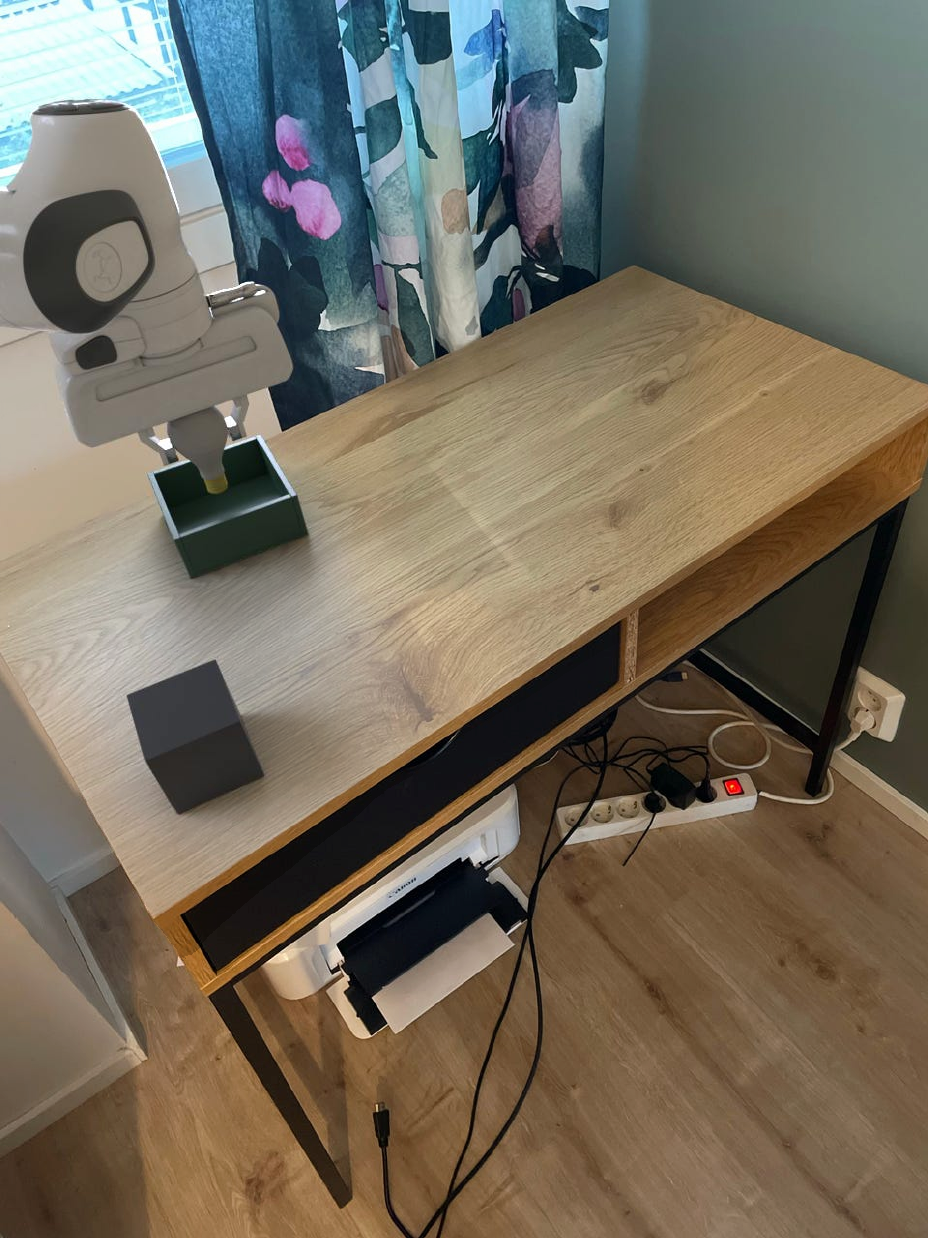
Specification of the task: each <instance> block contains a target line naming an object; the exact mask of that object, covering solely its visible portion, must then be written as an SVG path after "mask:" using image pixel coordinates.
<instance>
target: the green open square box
mask: <svg viewBox="0 0 928 1238" xmlns="http://www.w3.org/2000/svg"><path fill="white" fill-rule="evenodd" d="M276 459H277V458H275V456H274V454H273V452H272V451H271V450H270V447H269V446H268V444H267V442H266V441H265V439H264V438H263V436H262V434H258V435H255V436H252V437H249V438H246V439H244V440H240V441H238V442H235V443H232V444H229V445H225V449H224V452H223V455H222V464H223V467H224V470H225V471H224V473H225V477H226V480H227V483H228V487H227V489H226V490H225V491H224V492H222V493H220V494H211V493H209V492H208V490H207V487H206V484H205V481H204V479H203V478H202V476H201V474H200V471H199V469H198V467H197V466H196V465H195V464H193V463H192V462H191V461H189V460H188V459H186V460H182V461H178V462H176V463H173V464H170V465H167V466H164V467H162V468H158V469H157V470H153V471H151V472H148V473H146V475H147V478H148V480H149V482H150V485H151V488H152V490H153V493H154V495H155V498H156V500H157V503H158V505H159V507H160V511H161V513H162V515H163V518H164V520H165V522H166V525H167V527H168V529H169V532H170V534H171V537H172V540H173V542H174V544H175V546H176V549H177V551H178V554H179V555H180V556H179V557H180V558H181V561H182V563H183V565H184V567H185V569H186V571H187V574H188V576H189V578H190V579H191V580H192V579H196V578H198V577H200V576H202V575H205V574H208V573H211V572H213V571H215V570H219V569H221V568H224V567H226V566H230V565H231V564H234V563H237V562H240V561H242V560H245V559H247V558H250V557H253V556H255V555H258V554H261V553H263V552H267V551H268V550H271V549H274V548H276V547H279V546H282V545H284V544H287V543H289V542H293V541H295V540H297V539H301V538H303V537H305V536H308V535H309V530H308V527H307V524H306V521H305V517H304V514H303V511H302V507H301V504H300V500H299V495H298V494H297V493H296V490H295V489H294V487H293V486H292V484H291V483H290V481H289V479H288V478H287V476H286V474H285V473H284V471H283V469H282V467H281V466H280V464H279V463H278V461H277V460H276Z"/></svg>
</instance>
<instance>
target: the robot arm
mask: <svg viewBox="0 0 928 1238" xmlns="http://www.w3.org/2000/svg"><path fill="white" fill-rule="evenodd" d="M29 122H30V130H31V140H30V143H29V147H28V150H27V154H26V156H25V159H24V160H23V162H22V164H21V167H20V168H19V170H18V171H17V173H16V175H15V176H14V177H13V179H12V180H11V181H10V182H9V183H8V184H7V185H6V186H0V327H4V328H11V329H17V330H18V329H19V330H25V331H38V332H46V333H47V332H48V338H49V343H50V346H51V349H52V352H53V353H54V355H55V357H56V359H57V360H56V362H55V368H54V373H55V380H56V384H57V389H58V392H59V395H60V398H61V402H62V405H63V408H64V410H65V413H66V416H67V419H68V421H69V424H70V426H71V429H72V431H73V434H74V436H75V438H76V440H77V442H79V443H80V444H82V445H84V446H86V447H88V448H91V449H93V448H97V447H99V446H102V445H105V444H108V443H111V442H114V441H117V440H120V439H122V438H125V437H129V436H131V435H134V434H136V435H137V436H138V438H139V440H140V442H142V443H143V444H144V445H146V446H147V447H149V448H150V449H152V451H154V452H156V453H157V454H158V455H157V456H158V457H159V459H160V461H161V463H162V465H163V466H164V467H167V466H170V465H173V464H175V463H178V462H180V459H179V456H178V455H177V451H176V449H175V448H174V446H173V445H172V444H171V442H170V440H169V437H168V438H165V439H162V440H160V439H159V438H158V437H157V436H156V432H155V430H154V428H155V427H158V426H160V425H164V424H167V422H169V421H172V420H175V419H178V418H181V417H184V416H186V415H189V414H192V413H195V412H198V411H201V410H204V409H207V408H210V407H213V406H215V407H216V406H218V405H222V404H224V403H227V402H231V403H232V407H231V410H230V416H227V417H225V420H226V423H227V426H228V437H229V438H230V440H231V442H232V443H233V442H236V441H238V440H241V439H243V438H246V437H248V436H247V432H246V428H245V424H244V422H245V419H246V416H247V413H248V410H249V406H250V401H249V397H248V395H250V394H252V393H256V392H258V391H261V390H265V389H267V388H270V387H273V386H276V385H279V384H282V383H285V382H287V381H289V379H290V377H291V376H292V375H291V374H292V372H293V369H294V365H293V361H292V358H291V355H290V352H289V349H288V346H287V343H286V341H285V339H284V337H283V334H282V332H281V331H280V328H279V326H278V323H279V320H280V308H279V305H278V301H277V297H276V295H275V293H274V291H273V290H272V289H271V288H269V287H268V286H266V285H264V284H256V282H254V281H247V282H244V283H241V284H240V285H238V286H235V287H233V288H228V289H222V290H219V291H218V290H217V291H215V292H212V293H208V294H206V293H205V289H204V286H203V283H202V279H201V277H200V273H199V270H198V268H197V264H196V262H195V259H194V257H193V255H192V253H191V252H190V251H189V249H188V247H187V245H186V244H185V243H186V242H185V241H184V239H183V237H182V236H183V235H182V229H181V215H180V214H181V213H180V209H179V206H178V203H177V200H176V195H175V193H174V190H173V186H172V184H171V181H170V177H169V176H168V172H167V169H166V167H165V164H164V162H163V159H162V157H161V154H160V152H159V150H158V149H159V148H158V147H157V144H156V143H155V140H154V137H153V136H152V134H151V132H150V130H149V128H148V126H147V124H146V122H145V120H144V119H143V118H142V115H140V114H139V112H138V111H137V110H136V109H135V108H134V107H133V106H131V105H129V104H127V103H125V102H124V101H120V100H118V99H117V100H116V99H109V98H108V99H107V98H106V99H105V98H104V99H103V98H102V99H101V98H99V99H98V98H85V99H65V100H57V101H52V102H48V103H45V104H44V103H43V104H42V105H39V106H38V107H37V108H35V109H34V110H32V111H31V113H30V115H29Z"/></svg>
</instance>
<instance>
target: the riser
mask: <svg viewBox="0 0 928 1238" xmlns="http://www.w3.org/2000/svg"><path fill="white" fill-rule="evenodd" d="M126 700H127V703H128V706H129V710H130V714H131V717H132V720H133V724H134V728H135V731H136V734H137V739H138V741H139V745H140V749H141V753H142V756H143V759H144V762H145V764H146V765H147V767H148V769H149V771H150V772H151V774H152V775H153V777H154V778H155V779H154V780H156V782H157V784H158V785H159V787H160V788H161V790H162V792H163V793H164V795H165V797H166V799H167V800H168V801H169V803H170V804H171V807H172V808H173V810H174V811H175V813H176V815H181V814H182V813H184V812H187V811H189V810H191V809H194V808H196V807H198V806H200V805H202V804H205V803H207V802H210V801H211V800H214V799H216V798H218V797H221V796H223V795H225V794H227V793H230V792H232V791H234V790H236V789H239V788H241V787H243V786H245V785H248V784H250V783H252V782H254V781H257V780H259V779H261V778H263V777H265V773H264V770H263V768H262V765H261V763H260V760H259V757H258V755H257V753H256V750H255V747H254V745H253V743H252V740H251V737H250V735H249V732H248V730H247V728H246V725H245V723H244V720H243V717H242V715H241V713H240V710H239V708H238V706H237V704H236V701H235V699H234V697H233V695H232V693H231V691H230V688H229V686H228V684H227V682H226V679H225V677H224V675H223V673H222V670H221V668H220V665H219V663H218V661H217V660H216V659H211V660H209V661H207V662H204V663H202V664H200V665H197V666H195V667H192V668H190V669H187V670H185V671H182V672H180V673H178V674H175V675H172V676H170V677H168V678H165V679H163V680H160V681H158V682H155V683H153V684H150V685H148V686H146V687H143V688H140V689H138V690H135V691H133V692H130V693H127V694H126Z"/></svg>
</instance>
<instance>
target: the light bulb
mask: <svg viewBox="0 0 928 1238" xmlns="http://www.w3.org/2000/svg"><path fill="white" fill-rule="evenodd" d="M225 418H226V417H225V415H224V414H223V413H222V412H221V410H220V409H219V408H218V407H217V406H216V405H215V406H213V407H210V408H207V409H204V410H201V411H198V412H195V413H192V414H189V415H186V416H184V417H181V418H178V419H175V420H172V421H169V422H166V433H167V437H168V438H169V440H170V442H171V444H172V445H173V446H174V449H175V451H176V452H177V453H179V454H180V455H181V456H182V457H184V458H185V459H186V460H189V461H191V462H192V463H193V464H195V465H196V466H197V467H198V469H199V471H200V474H201V476H202V478H203V479H204V481H205V484H206V487H207V490H208V492H209V493H211V494H220V493H222V492H224V491H225V490H226V489H227V487H228V483H227V480H226V477H225V473H224V471H225V470H224V467H223V464H222V455H223V452H224V449H225V447H226V446H227V442H228V437H229V436H228V426H227V423H226V420H225Z"/></svg>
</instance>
